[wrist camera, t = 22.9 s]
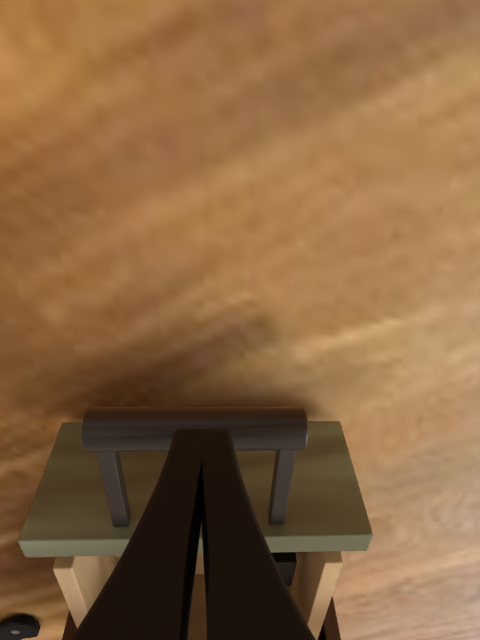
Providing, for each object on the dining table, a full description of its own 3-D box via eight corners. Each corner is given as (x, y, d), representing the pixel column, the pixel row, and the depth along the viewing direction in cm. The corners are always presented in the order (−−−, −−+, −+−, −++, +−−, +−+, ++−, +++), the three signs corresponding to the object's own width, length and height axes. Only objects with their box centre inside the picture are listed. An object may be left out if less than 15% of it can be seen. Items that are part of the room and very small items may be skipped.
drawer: (33, 320, 18) (-34, 433, 13) (363, 322, 18) (414, 431, 14) (102, 564, 29) (79, 674, 24) (306, 560, 30) (323, 666, 25)
